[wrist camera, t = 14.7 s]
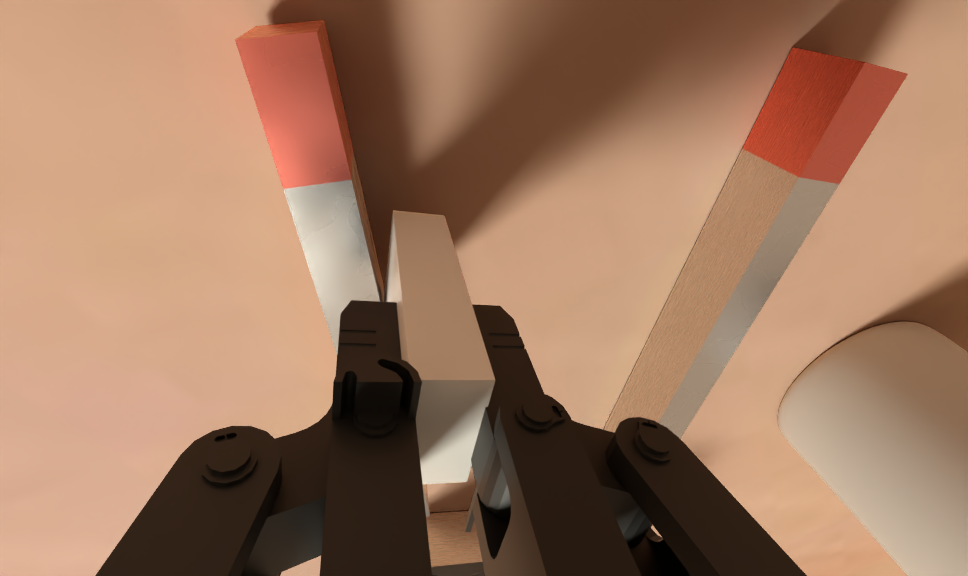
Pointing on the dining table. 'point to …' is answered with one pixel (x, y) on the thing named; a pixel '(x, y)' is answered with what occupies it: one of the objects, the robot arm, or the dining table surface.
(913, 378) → the mug
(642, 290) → the dining table surface
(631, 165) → the dining table surface
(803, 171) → the base
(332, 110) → the red-tipped stick
